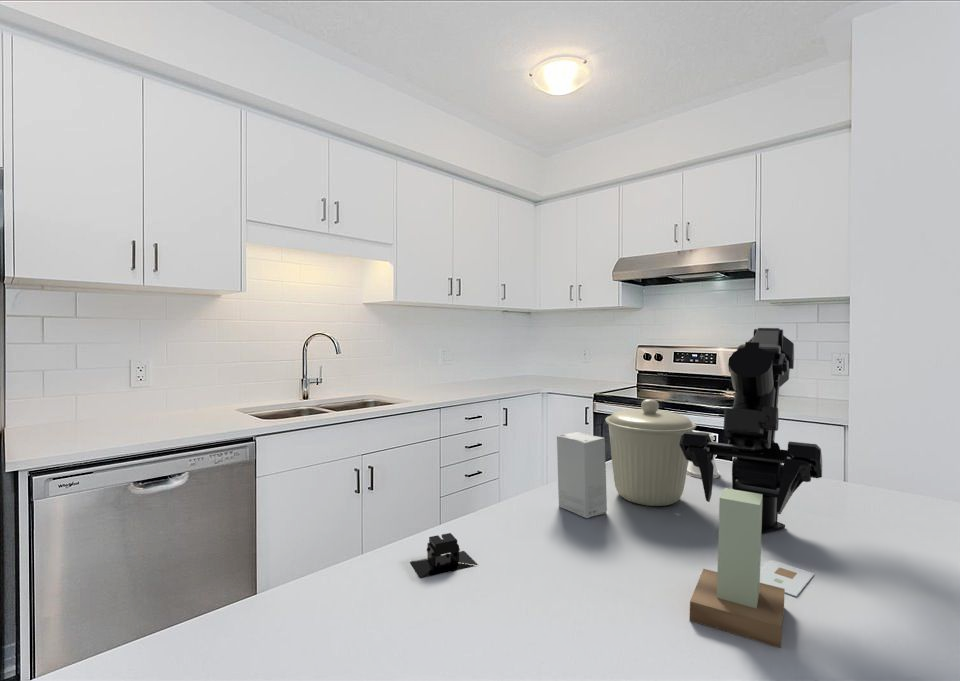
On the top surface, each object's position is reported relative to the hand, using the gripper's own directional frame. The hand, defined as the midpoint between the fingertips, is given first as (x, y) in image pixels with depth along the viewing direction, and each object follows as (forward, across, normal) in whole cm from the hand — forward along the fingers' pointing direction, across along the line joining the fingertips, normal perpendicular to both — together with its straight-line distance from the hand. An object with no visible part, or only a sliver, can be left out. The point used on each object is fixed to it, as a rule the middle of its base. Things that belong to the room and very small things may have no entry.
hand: (741, 506), depth 74 cm
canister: (-9, -22, +27) cm, 36 cm away
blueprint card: (+5, +4, +11) cm, 13 cm away
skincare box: (0, -31, +16) cm, 35 cm away
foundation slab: (+14, +1, 0) cm, 14 cm away
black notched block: (+22, -38, -10) cm, 45 cm away
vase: (-24, -17, +47) cm, 55 cm away
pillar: (+12, +1, -1) cm, 12 cm away
